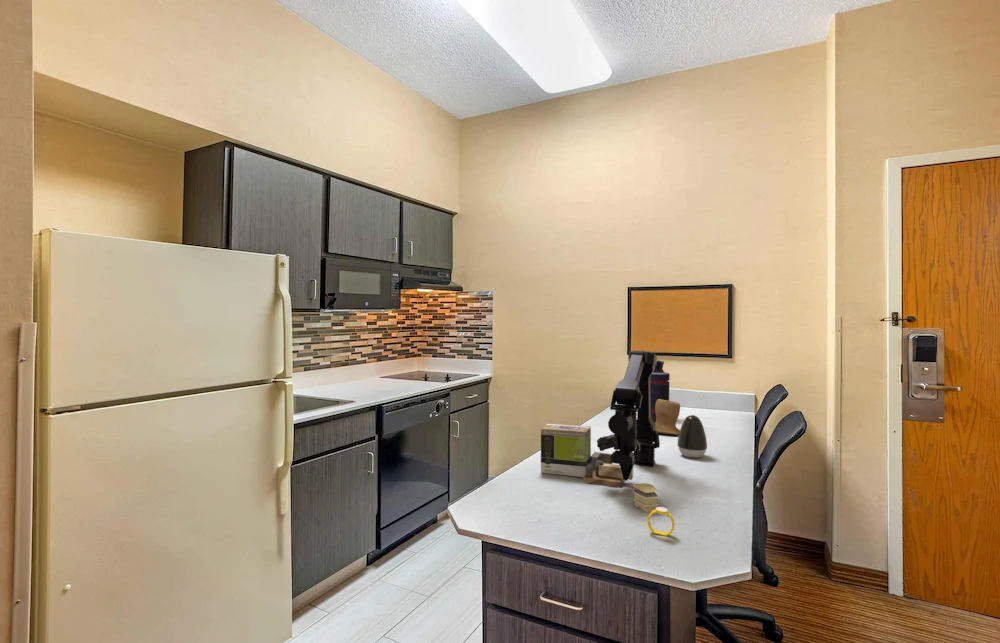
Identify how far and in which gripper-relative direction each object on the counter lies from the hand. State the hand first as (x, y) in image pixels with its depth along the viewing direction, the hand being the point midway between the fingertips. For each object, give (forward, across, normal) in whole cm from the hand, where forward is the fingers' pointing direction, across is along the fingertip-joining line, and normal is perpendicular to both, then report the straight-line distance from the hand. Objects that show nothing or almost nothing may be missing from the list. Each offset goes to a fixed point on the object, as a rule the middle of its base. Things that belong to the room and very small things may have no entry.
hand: (625, 480), depth 150 cm
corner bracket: (+1, -13, -10) cm, 16 cm away
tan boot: (+3, -81, +4) cm, 81 cm away
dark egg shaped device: (+3, -46, +17) cm, 49 cm away
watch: (+2, +29, +12) cm, 32 cm away
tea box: (+3, -8, -20) cm, 22 cm away
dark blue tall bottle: (+3, -105, -2) cm, 105 cm away
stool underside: (+2, -8, -7) cm, 11 cm away
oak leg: (+1, -4, -4) cm, 6 cm away
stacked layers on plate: (+3, +13, +7) cm, 15 cm away
